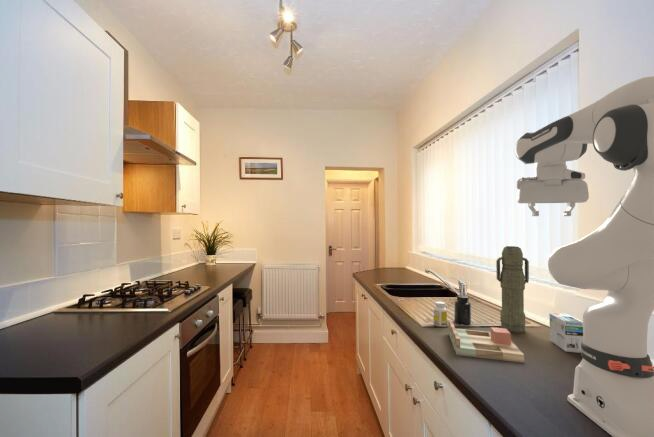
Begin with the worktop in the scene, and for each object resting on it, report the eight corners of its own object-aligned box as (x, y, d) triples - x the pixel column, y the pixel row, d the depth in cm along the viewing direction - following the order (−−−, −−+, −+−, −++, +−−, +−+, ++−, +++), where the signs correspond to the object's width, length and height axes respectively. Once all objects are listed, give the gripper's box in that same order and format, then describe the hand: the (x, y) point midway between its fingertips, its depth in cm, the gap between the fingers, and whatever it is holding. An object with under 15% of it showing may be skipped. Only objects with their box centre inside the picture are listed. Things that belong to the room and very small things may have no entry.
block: (510, 345, 102) (510, 333, 102) (494, 343, 103) (494, 331, 103) (506, 339, 107) (506, 328, 107) (490, 338, 108) (490, 327, 108)
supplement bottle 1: (447, 324, 131) (447, 301, 131) (446, 327, 126) (446, 304, 126) (434, 322, 133) (434, 300, 134) (433, 325, 128) (433, 303, 129)
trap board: (524, 362, 94) (523, 345, 94) (456, 354, 99) (456, 338, 100) (504, 339, 113) (504, 325, 113) (448, 334, 119) (448, 320, 119)
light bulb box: (587, 354, 101) (587, 322, 101) (565, 352, 102) (564, 320, 103) (568, 342, 112) (568, 313, 112) (548, 340, 113) (548, 312, 113)
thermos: (493, 325, 130) (492, 245, 131) (521, 326, 129) (521, 246, 130) (502, 332, 121) (502, 247, 122) (533, 333, 120) (532, 247, 121)
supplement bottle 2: (451, 321, 134) (451, 295, 135) (461, 319, 138) (461, 293, 138) (464, 326, 128) (464, 298, 129) (474, 324, 131) (474, 296, 132)
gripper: (519, 175, 102) (520, 215, 101) (591, 173, 96) (591, 215, 96) (513, 178, 108) (513, 216, 107) (580, 176, 102) (580, 216, 102)
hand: (551, 216), depth 102 cm, fingers open, 8 cm apart
